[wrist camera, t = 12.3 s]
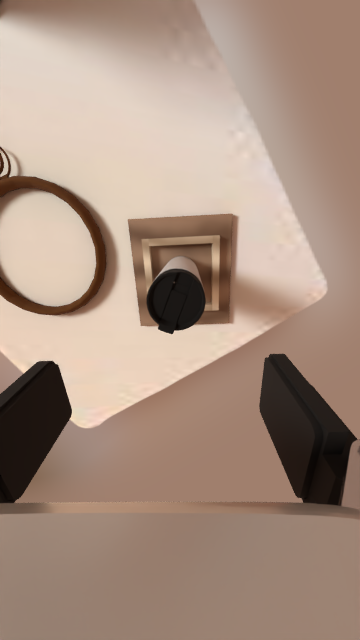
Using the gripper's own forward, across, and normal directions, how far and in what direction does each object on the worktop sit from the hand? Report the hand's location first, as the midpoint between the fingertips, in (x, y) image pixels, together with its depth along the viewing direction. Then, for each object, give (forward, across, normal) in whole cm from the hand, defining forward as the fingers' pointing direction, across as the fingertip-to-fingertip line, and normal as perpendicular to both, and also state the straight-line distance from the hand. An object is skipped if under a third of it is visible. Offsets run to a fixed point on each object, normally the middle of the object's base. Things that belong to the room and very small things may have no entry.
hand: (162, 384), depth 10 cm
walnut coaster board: (+34, -1, +1) cm, 34 cm away
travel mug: (+33, 0, +1) cm, 33 cm away
